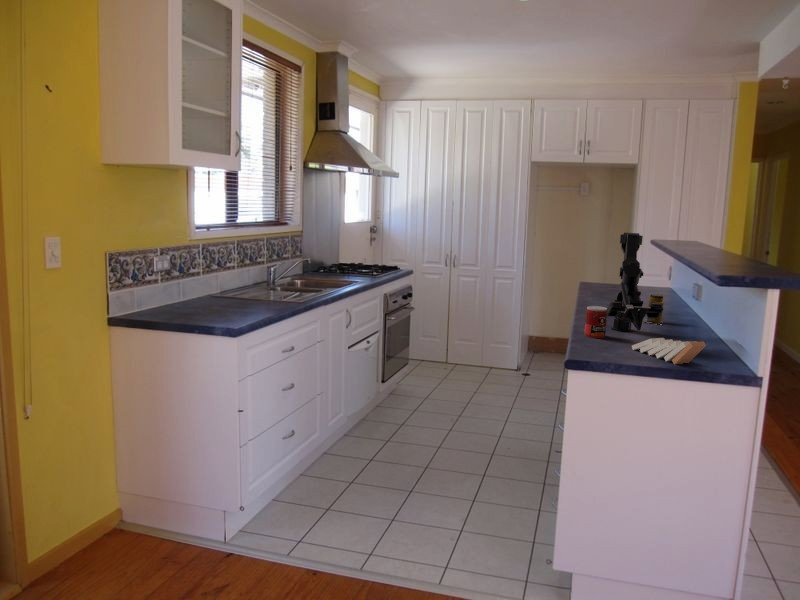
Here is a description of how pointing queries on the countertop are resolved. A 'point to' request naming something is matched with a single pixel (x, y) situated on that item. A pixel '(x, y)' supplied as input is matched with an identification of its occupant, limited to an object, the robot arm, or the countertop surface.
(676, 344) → the domino
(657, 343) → the domino
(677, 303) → the countertop surface
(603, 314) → the canned food
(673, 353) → the domino
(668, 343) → the domino
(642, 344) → the domino
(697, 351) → the domino
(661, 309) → the robot arm
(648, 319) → the condiment
